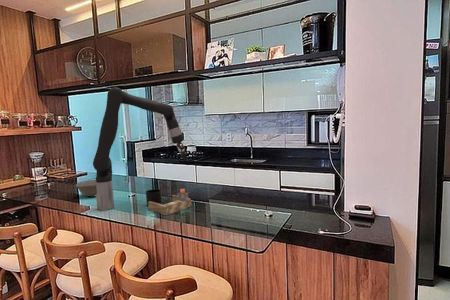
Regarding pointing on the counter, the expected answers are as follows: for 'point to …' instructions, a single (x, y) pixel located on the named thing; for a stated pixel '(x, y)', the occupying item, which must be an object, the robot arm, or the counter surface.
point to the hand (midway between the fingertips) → (184, 158)
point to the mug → (154, 196)
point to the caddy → (171, 204)
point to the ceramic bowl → (87, 187)
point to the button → (182, 191)
